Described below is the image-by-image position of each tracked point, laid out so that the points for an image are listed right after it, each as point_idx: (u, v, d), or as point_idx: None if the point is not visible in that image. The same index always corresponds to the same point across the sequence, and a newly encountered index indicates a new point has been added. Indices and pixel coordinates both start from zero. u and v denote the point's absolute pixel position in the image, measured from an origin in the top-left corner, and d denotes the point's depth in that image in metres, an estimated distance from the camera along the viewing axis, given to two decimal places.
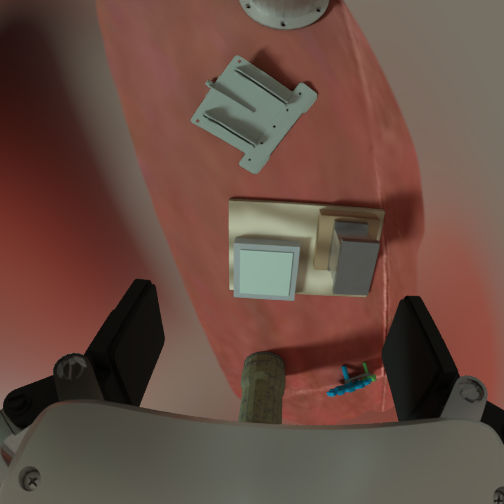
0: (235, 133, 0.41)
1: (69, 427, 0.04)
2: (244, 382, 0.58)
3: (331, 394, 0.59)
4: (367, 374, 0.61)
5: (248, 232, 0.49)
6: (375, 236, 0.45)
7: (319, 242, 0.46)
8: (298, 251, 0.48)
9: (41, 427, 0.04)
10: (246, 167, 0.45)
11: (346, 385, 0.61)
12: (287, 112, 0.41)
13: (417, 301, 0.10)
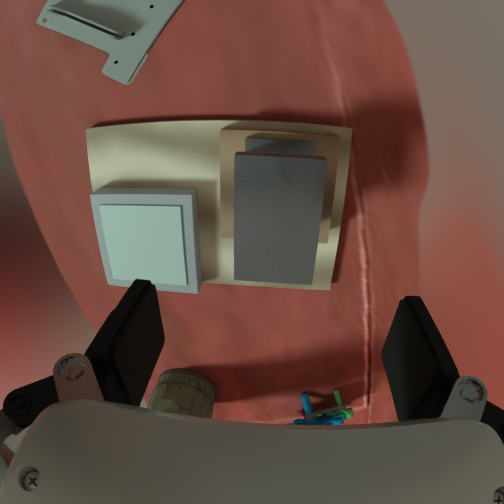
0: (92, 25, 0.19)
1: (69, 427, 0.04)
2: None
3: None
4: (340, 408, 0.39)
5: (116, 177, 0.27)
6: (333, 170, 0.23)
7: (223, 183, 0.25)
8: (189, 203, 0.26)
9: (40, 428, 0.04)
10: (112, 75, 0.23)
11: (307, 422, 0.39)
12: None
13: (417, 301, 0.10)
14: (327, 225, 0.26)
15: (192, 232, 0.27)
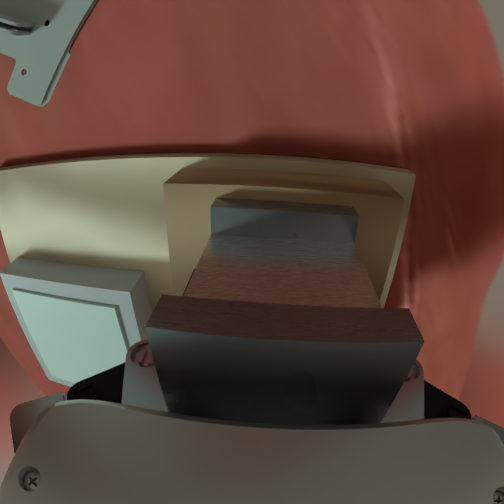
0: None
1: (69, 427, 0.04)
2: None
3: None
4: None
5: (32, 246, 0.16)
6: (385, 261, 0.12)
7: (177, 281, 0.13)
8: (129, 304, 0.15)
9: (40, 428, 0.04)
10: (20, 93, 0.12)
11: None
12: None
13: None
14: None
15: None
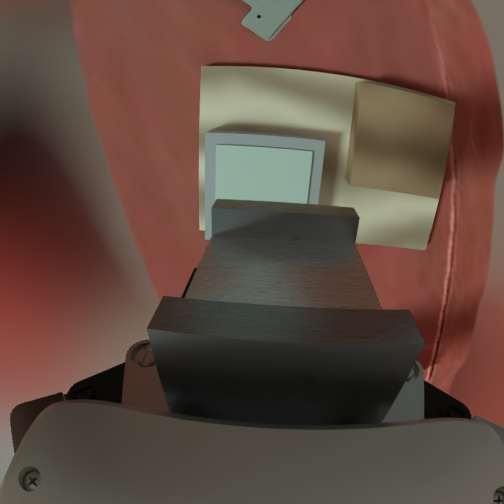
0: None
1: (69, 427, 0.04)
2: None
3: None
4: None
5: (233, 120, 0.26)
6: (449, 132, 0.22)
7: (360, 132, 0.24)
8: (322, 149, 0.25)
9: (40, 428, 0.04)
10: (253, 28, 0.22)
11: None
12: None
13: None
14: (440, 181, 0.25)
15: (319, 180, 0.26)
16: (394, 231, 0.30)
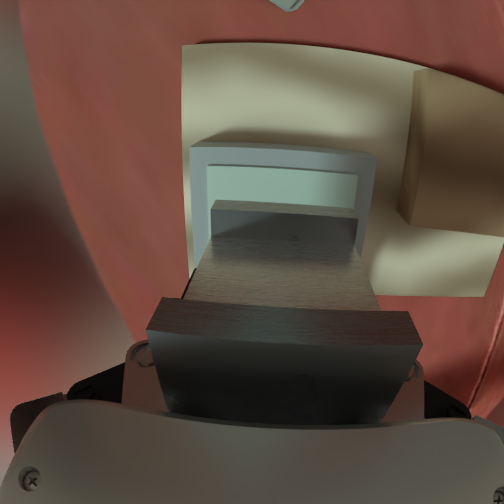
0: None
1: (69, 427, 0.04)
2: None
3: None
4: None
5: (232, 125, 0.17)
6: None
7: (428, 146, 0.14)
8: (372, 172, 0.16)
9: (40, 427, 0.04)
10: None
11: None
12: None
13: None
14: None
15: (366, 218, 0.17)
16: (451, 277, 0.21)
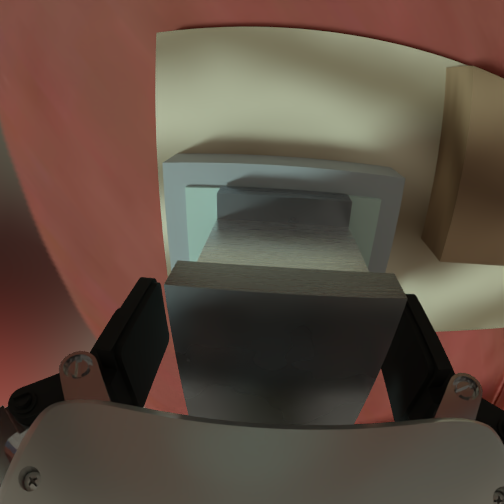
0: None
1: (69, 427, 0.04)
2: None
3: None
4: None
5: (219, 133, 0.14)
6: None
7: (468, 163, 0.11)
8: (398, 195, 0.12)
9: (40, 427, 0.04)
10: None
11: None
12: None
13: (412, 300, 0.10)
14: None
15: (388, 251, 0.13)
16: (475, 310, 0.17)
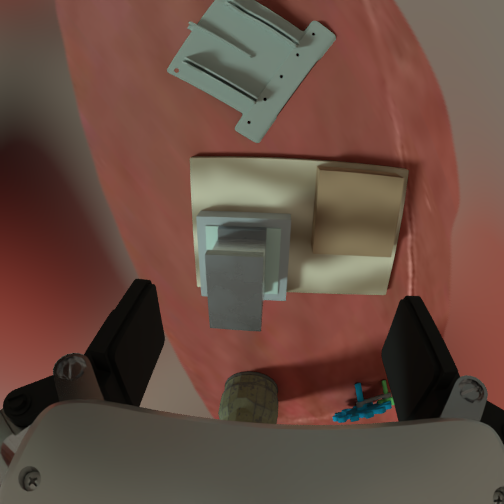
0: (228, 85, 0.28)
1: (69, 427, 0.04)
2: (222, 411, 0.42)
3: (340, 420, 0.42)
4: (387, 395, 0.44)
5: (218, 202, 0.35)
6: (398, 202, 0.30)
7: (319, 211, 0.32)
8: (289, 226, 0.33)
9: (40, 428, 0.04)
10: (245, 133, 0.32)
11: (359, 409, 0.44)
12: (298, 57, 0.28)
13: (417, 302, 0.10)
14: (391, 243, 0.32)
15: (288, 250, 0.34)
16: (356, 282, 0.38)
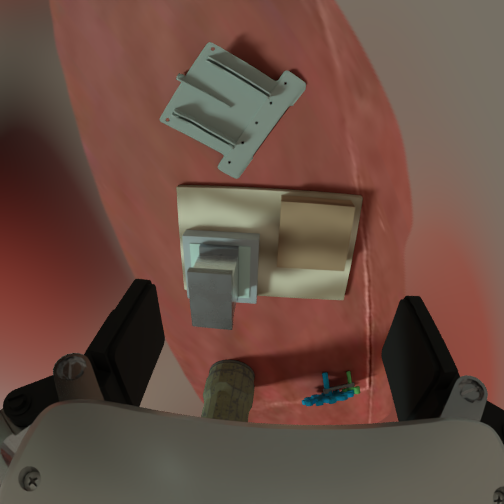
0: (211, 132, 0.35)
1: (69, 427, 0.04)
2: (205, 393, 0.50)
3: (307, 403, 0.51)
4: (350, 385, 0.53)
5: (200, 223, 0.42)
6: (350, 227, 0.38)
7: (281, 234, 0.39)
8: (257, 245, 0.41)
9: (40, 428, 0.04)
10: (226, 171, 0.39)
11: (325, 395, 0.53)
12: (271, 105, 0.35)
13: (417, 301, 0.10)
14: (344, 260, 0.40)
15: (257, 263, 0.42)
16: (316, 289, 0.46)
